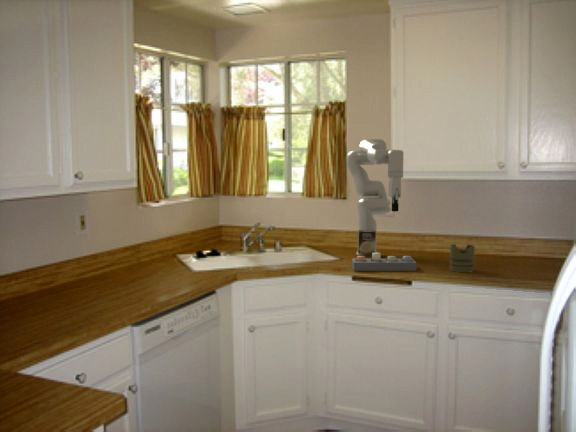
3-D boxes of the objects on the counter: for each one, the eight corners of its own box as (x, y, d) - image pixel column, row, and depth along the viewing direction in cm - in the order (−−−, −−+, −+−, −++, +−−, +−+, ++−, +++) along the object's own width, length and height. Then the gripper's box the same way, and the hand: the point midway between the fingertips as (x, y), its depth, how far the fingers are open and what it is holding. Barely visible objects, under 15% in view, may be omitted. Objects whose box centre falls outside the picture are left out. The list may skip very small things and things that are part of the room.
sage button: (386, 264, 307) (387, 255, 307) (395, 264, 307) (395, 255, 307) (388, 265, 303) (388, 257, 303) (396, 265, 303) (396, 257, 303)
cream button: (371, 261, 307) (371, 252, 307) (379, 261, 307) (380, 252, 307) (372, 262, 303) (372, 253, 303) (381, 262, 303) (381, 254, 303)
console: (351, 266, 311) (351, 258, 311) (411, 266, 311) (411, 258, 311) (353, 270, 300) (354, 262, 299) (416, 270, 299) (416, 262, 299)
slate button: (402, 264, 307) (402, 255, 307) (410, 264, 307) (410, 255, 307) (403, 265, 303) (403, 257, 303) (411, 265, 303) (411, 257, 303)
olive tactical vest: (476, 247, 292) (451, 247, 294) (475, 273, 294) (450, 272, 295) (473, 244, 303) (449, 243, 305) (472, 268, 305) (448, 267, 306)
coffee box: (357, 262, 323) (357, 231, 321) (357, 260, 329) (357, 229, 327) (375, 262, 322) (375, 231, 320) (375, 260, 328) (375, 230, 326)
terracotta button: (356, 264, 307) (356, 255, 307) (364, 264, 307) (364, 255, 307) (357, 265, 303) (357, 257, 303) (365, 265, 303) (365, 257, 303)
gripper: (385, 174, 319) (385, 209, 321) (390, 175, 304) (389, 212, 306) (400, 174, 319) (399, 209, 321) (405, 175, 304) (405, 212, 306)
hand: (394, 211), depth 313 cm, fingers closed
